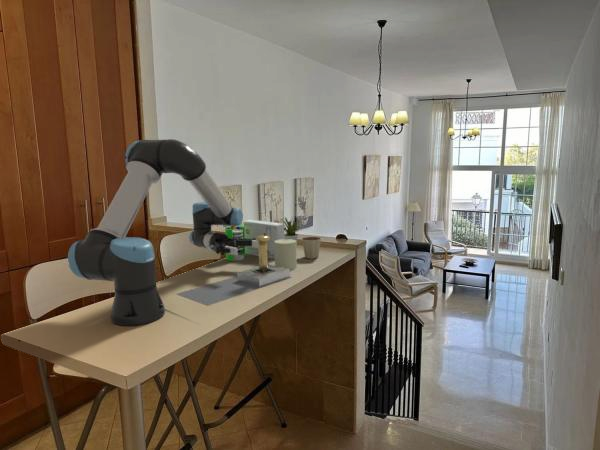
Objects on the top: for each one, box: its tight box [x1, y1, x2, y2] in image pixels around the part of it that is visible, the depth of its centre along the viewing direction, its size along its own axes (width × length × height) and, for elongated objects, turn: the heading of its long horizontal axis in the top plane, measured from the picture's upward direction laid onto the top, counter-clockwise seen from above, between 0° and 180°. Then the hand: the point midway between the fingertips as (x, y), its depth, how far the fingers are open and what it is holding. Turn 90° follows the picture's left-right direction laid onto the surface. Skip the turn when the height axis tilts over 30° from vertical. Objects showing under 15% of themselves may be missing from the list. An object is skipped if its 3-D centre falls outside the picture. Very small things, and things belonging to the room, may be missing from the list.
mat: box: [176, 275, 293, 306], centre depth 158 cm, size 39×18×1 cm, turn 138°
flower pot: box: [300, 236, 322, 259], centre depth 198 cm, size 9×9×9 cm
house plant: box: [279, 215, 303, 247], centre depth 219 cm, size 14×14×16 cm
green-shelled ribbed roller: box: [224, 225, 246, 262], centre depth 198 cm, size 9×8×18 cm
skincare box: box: [242, 219, 285, 260], centre depth 202 cm, size 21×6×16 cm, turn 53°
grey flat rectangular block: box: [236, 263, 291, 287], centre depth 165 cm, size 16×12×3 cm
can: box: [274, 238, 298, 271], centre depth 180 cm, size 9×9×12 cm
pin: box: [256, 235, 270, 273], centre depth 164 cm, size 5×5×16 cm
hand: (250, 248), depth 168 cm, fingers open, 13 cm apart
